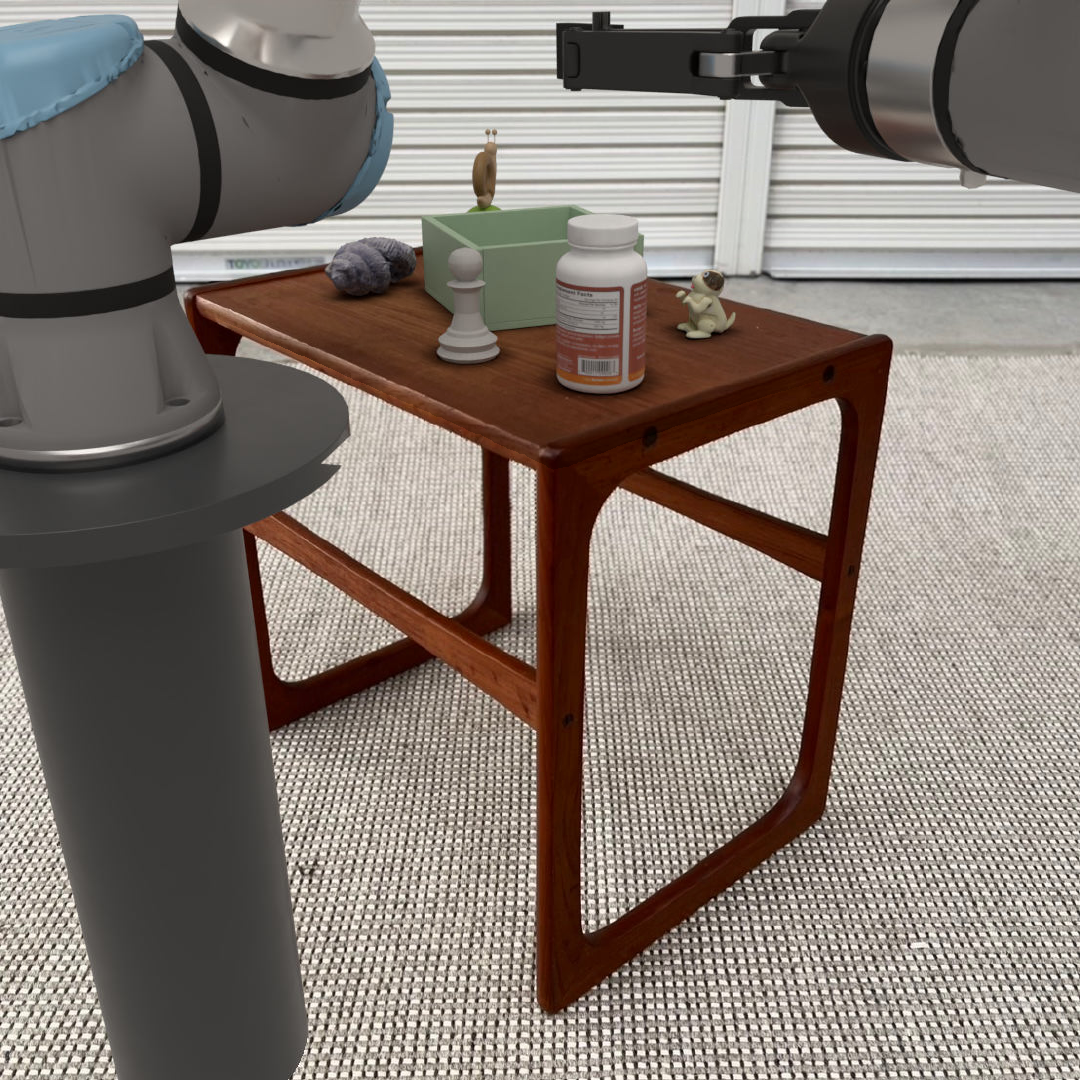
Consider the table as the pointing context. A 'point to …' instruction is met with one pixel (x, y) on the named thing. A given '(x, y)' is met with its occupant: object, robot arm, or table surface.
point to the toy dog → (705, 306)
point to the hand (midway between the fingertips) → (676, 46)
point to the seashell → (371, 265)
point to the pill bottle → (601, 306)
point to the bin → (504, 260)
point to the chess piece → (467, 313)
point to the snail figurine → (485, 176)
